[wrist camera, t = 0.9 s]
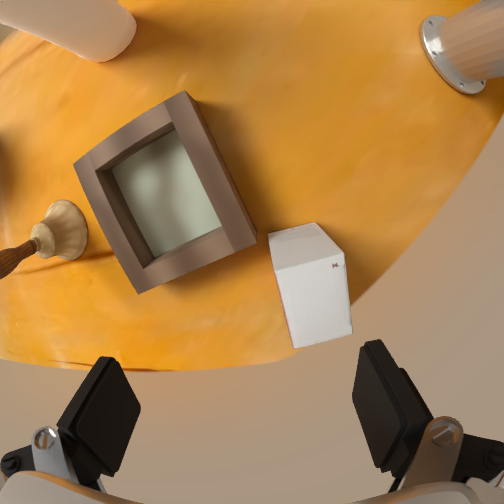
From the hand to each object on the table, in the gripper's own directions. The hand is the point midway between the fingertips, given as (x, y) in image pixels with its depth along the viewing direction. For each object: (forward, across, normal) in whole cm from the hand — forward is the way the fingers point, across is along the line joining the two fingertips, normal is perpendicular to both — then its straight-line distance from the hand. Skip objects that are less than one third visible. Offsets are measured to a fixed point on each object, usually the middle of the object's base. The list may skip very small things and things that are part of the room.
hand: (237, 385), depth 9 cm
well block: (+22, +8, -6) cm, 24 cm away
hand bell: (+22, +24, -4) cm, 33 cm away
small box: (+22, -5, +4) cm, 23 cm away
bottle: (+22, +14, -28) cm, 38 cm away
